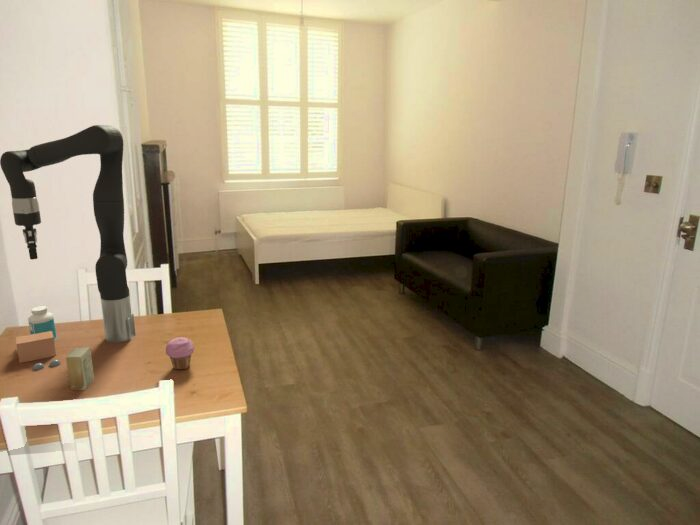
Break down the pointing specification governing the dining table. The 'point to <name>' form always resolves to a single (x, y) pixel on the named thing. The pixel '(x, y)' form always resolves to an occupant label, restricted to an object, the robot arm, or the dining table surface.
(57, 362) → the marble
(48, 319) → the pill bottle
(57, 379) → the dining table surface
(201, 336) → the dining table surface
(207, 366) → the dining table surface
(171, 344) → the cupcake
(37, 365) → the marble
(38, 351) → the tan wooden block
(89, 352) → the skincare box
